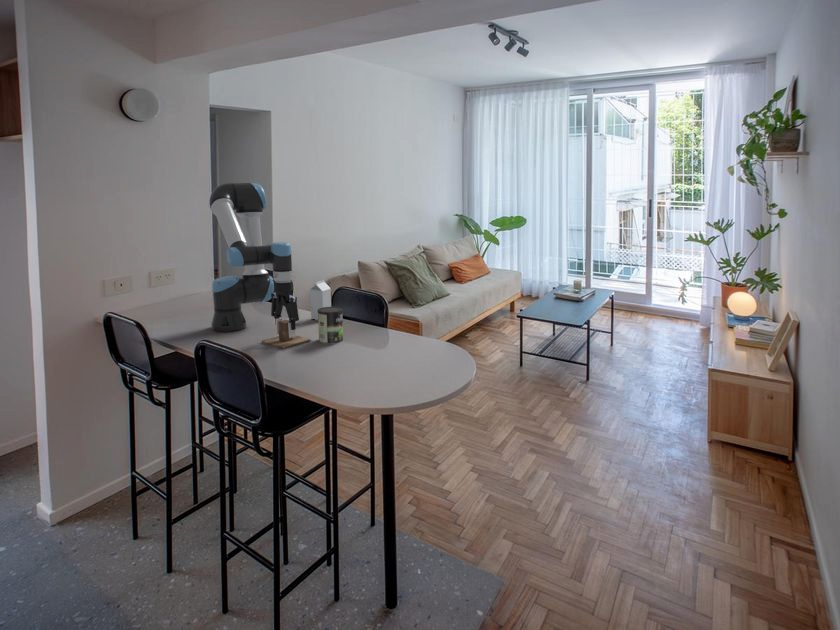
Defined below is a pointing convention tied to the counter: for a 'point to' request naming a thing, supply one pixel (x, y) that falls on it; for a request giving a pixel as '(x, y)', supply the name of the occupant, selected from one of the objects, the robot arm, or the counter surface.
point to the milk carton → (319, 297)
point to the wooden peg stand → (285, 338)
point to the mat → (287, 348)
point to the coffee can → (330, 325)
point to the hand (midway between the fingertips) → (285, 335)
